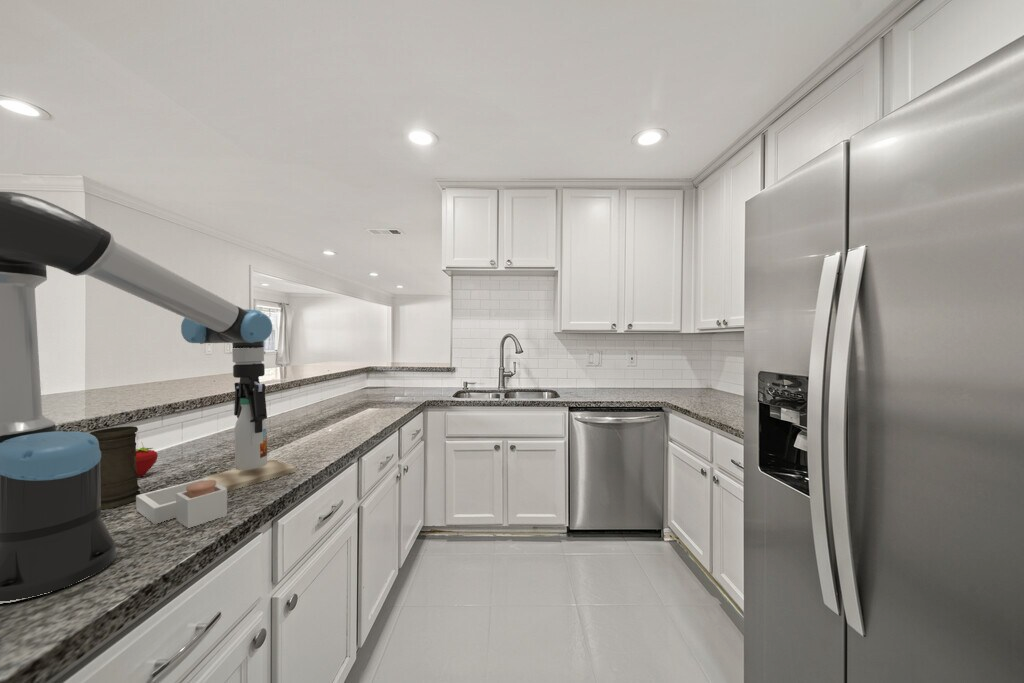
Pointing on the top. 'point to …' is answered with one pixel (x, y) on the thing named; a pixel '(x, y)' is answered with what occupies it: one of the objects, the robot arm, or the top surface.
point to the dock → (183, 505)
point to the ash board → (251, 475)
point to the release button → (201, 488)
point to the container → (117, 466)
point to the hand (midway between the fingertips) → (250, 441)
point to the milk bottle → (248, 441)
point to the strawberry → (145, 460)
